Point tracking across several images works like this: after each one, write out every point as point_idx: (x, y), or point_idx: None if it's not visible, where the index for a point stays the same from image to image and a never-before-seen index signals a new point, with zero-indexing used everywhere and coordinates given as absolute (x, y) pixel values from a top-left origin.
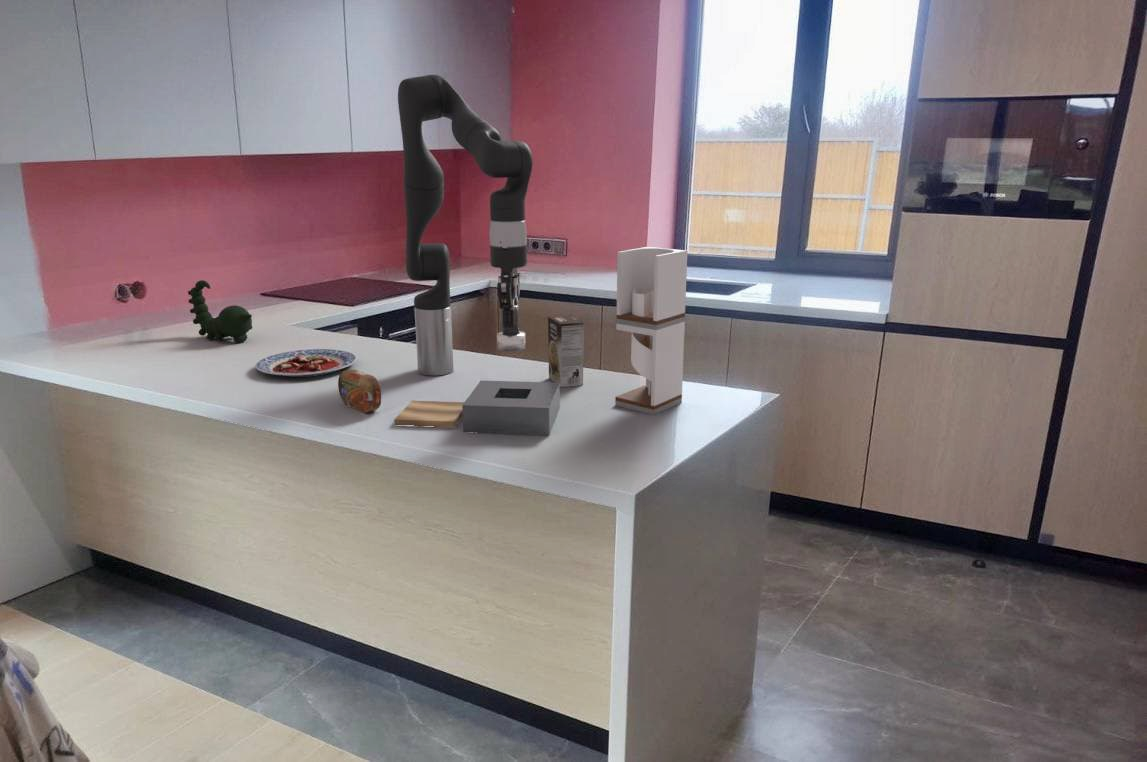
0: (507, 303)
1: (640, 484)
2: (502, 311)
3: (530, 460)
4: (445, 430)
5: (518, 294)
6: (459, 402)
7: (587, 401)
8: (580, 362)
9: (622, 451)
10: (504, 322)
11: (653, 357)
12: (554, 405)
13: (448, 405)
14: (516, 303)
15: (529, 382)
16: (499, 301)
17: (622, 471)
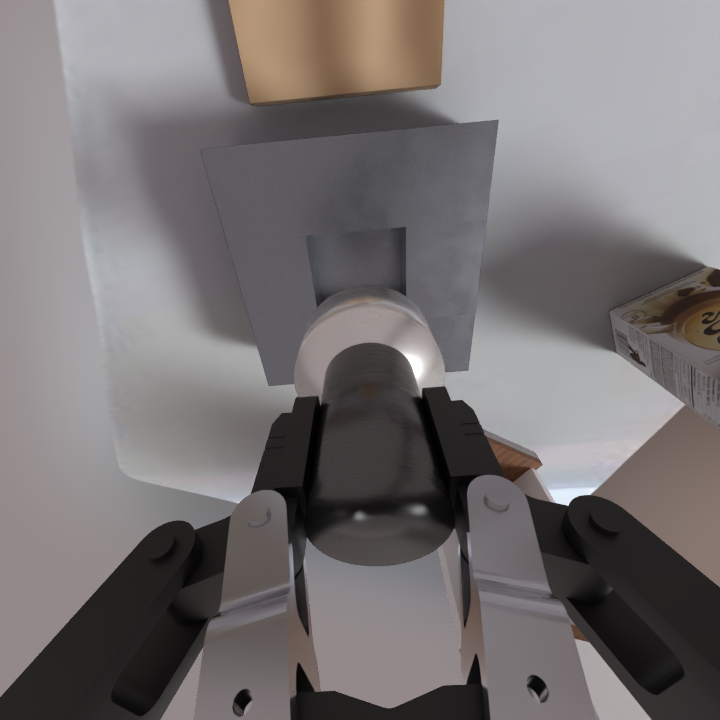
0: (170, 614)
1: (150, 481)
2: (327, 458)
3: (149, 347)
4: (229, 79)
5: (461, 667)
6: (438, 45)
7: (495, 379)
8: (659, 381)
9: (251, 454)
10: (271, 430)
11: (445, 572)
12: None
13: (400, 5)
14: (459, 551)
15: (469, 299)
16: (75, 619)
17: (179, 462)
